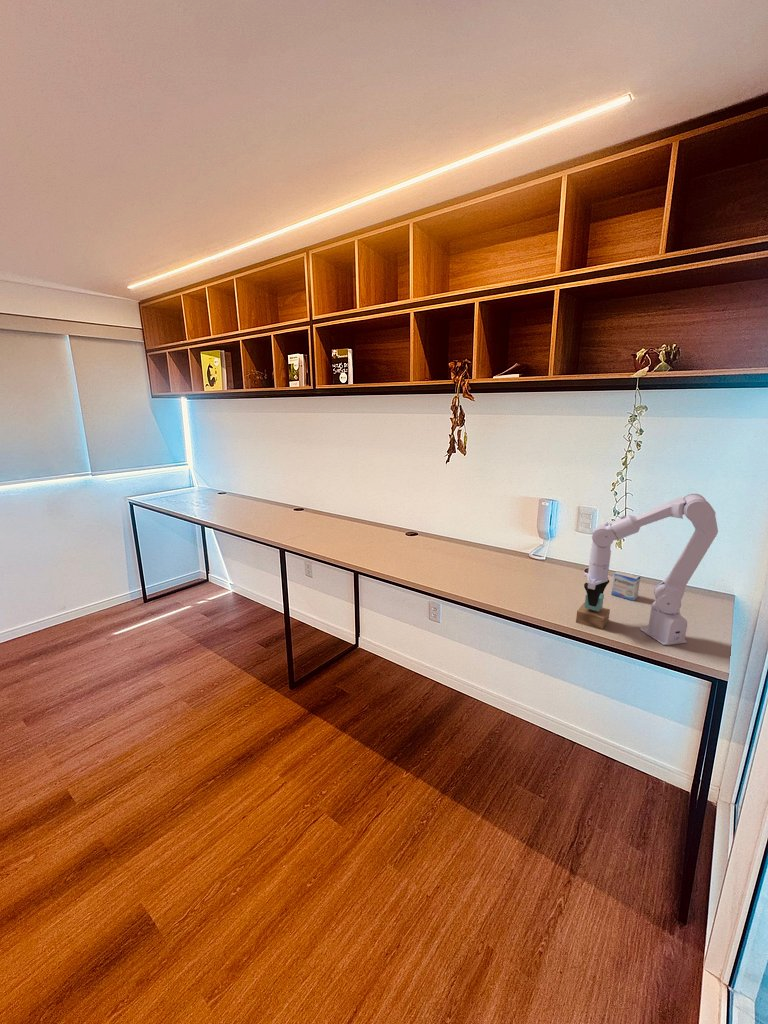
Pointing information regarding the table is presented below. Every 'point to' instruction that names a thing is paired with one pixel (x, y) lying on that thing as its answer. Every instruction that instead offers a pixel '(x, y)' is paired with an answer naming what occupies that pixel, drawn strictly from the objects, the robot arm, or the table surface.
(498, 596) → the table surface
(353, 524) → the table surface
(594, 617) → the walnut block
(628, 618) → the table surface
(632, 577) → the medicine box
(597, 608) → the teal cube
